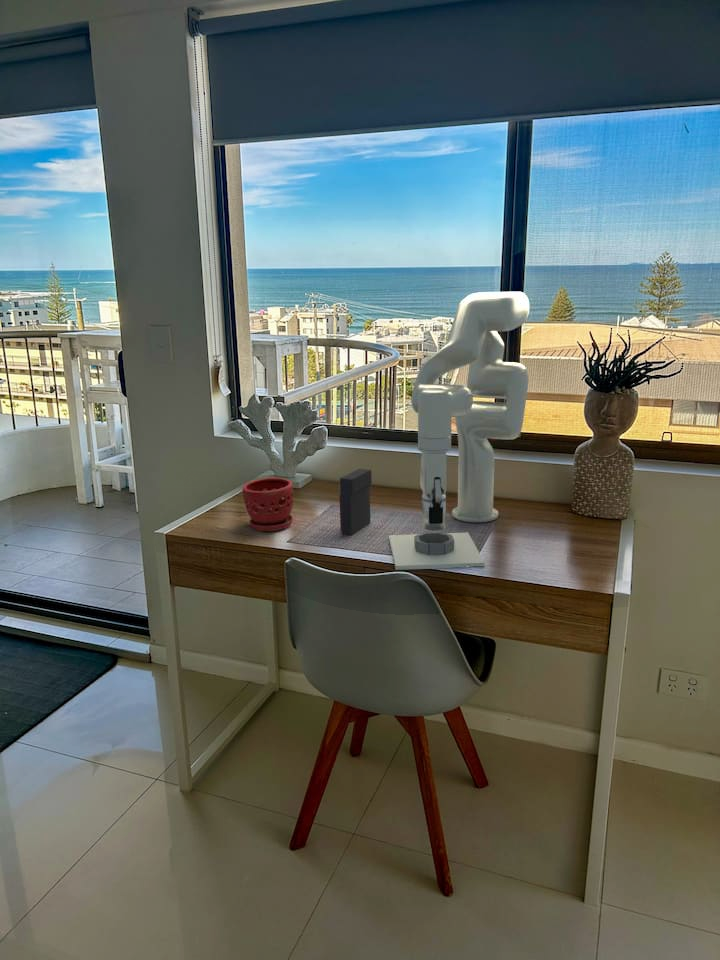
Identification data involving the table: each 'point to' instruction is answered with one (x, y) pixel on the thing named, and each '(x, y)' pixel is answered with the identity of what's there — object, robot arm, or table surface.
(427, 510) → the piston
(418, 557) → the holder
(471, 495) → the robot arm
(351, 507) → the upright black box
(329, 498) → the table surface
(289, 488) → the plant pot
